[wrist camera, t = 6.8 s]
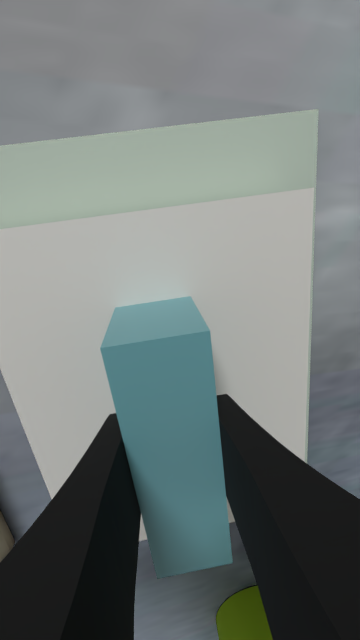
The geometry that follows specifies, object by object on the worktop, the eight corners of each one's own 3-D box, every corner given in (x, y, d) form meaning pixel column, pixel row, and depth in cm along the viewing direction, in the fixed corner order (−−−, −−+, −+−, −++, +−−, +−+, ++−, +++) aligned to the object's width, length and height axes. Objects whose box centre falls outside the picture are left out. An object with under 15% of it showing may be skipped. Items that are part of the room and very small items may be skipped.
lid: (284, 474, 15) (346, 587, 10) (82, 514, 14) (51, 653, 9) (285, 193, 10) (399, 170, 5) (-17, 233, 9) (-168, 244, 5)
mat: (300, 485, 16) (305, 494, 16) (71, 530, 15) (68, 542, 15) (308, 115, 10) (318, 109, 10) (-68, 159, 9) (-82, 155, 9)
